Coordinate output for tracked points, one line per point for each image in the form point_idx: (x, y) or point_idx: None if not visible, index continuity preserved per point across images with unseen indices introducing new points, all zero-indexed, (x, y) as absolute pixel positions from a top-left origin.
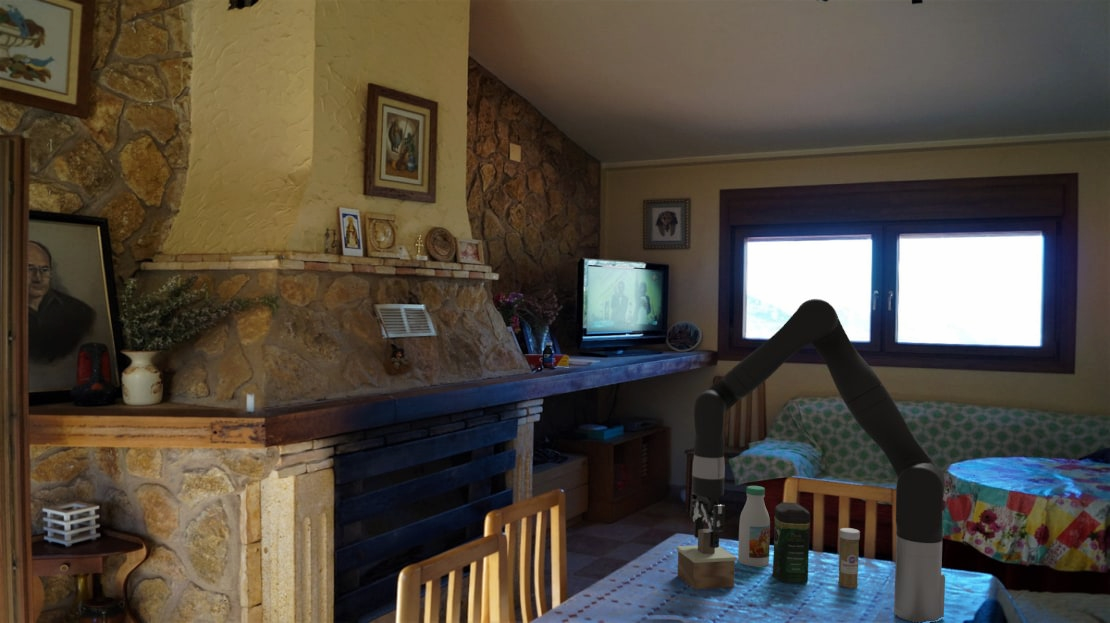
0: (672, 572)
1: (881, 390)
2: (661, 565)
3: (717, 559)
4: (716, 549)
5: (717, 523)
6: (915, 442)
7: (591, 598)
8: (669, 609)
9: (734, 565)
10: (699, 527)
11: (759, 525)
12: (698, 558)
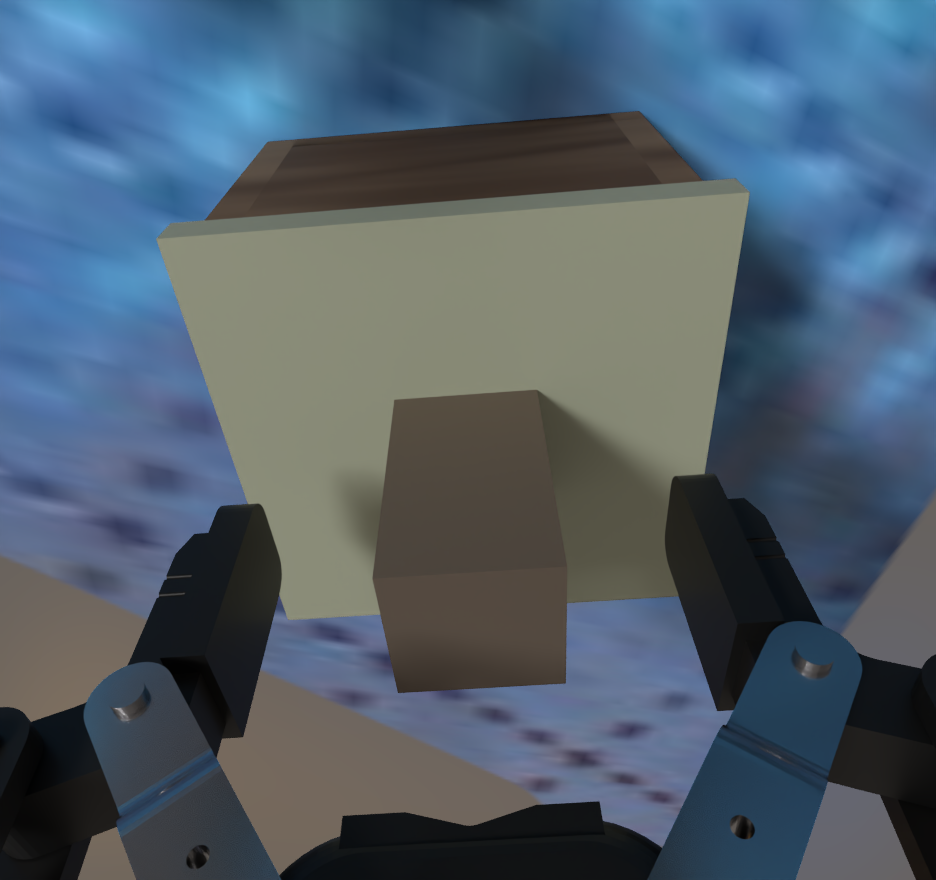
0: (193, 428)
1: None
2: (39, 453)
3: (710, 412)
4: (394, 322)
5: (803, 758)
6: None
7: (580, 779)
8: (815, 590)
9: (699, 179)
10: (244, 637)
11: None
12: (664, 564)
